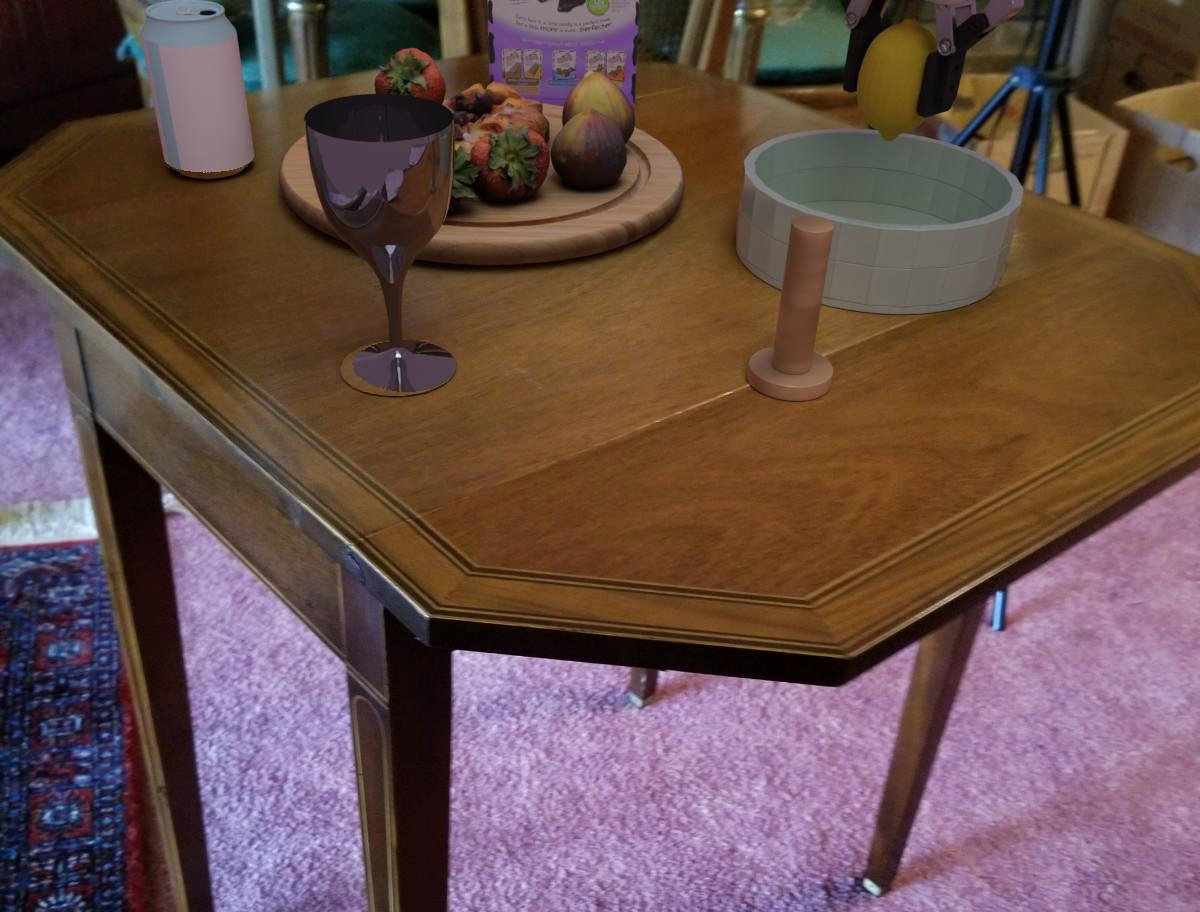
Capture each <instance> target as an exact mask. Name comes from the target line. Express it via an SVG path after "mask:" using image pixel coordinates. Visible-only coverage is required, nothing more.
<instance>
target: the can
mask: <svg viewBox="0 0 1200 912" xmlns="http://www.w3.org/2000/svg"><path fill="white" fill-rule="evenodd" d="M225 9H226V8H225V7H224V6H223V5H221V4H219V3H218V2H214V1H210V0H165V1H161V2H157V3H154V4H151V5H149V6H147V7H146V8H145V10H144V14H145V17H146V19H145V21H144V23H143V25H142V28H141V30H140V34H139V36H140V41H141V46H142V51H143V56H144V57H143V58H144V61H145V67H146V72H147V77H148V82H149V88H150V92H151V98H152V103H153V108H154V115H155V118H156V123H157V128H158V129H157V130H158V134H159V139H160V145H161V150H162V156H163V160H165V161H164V163H165V162H166V163H167V164H169V165H170V166H172V167H174V168H176V169H179V170H180V169H181V170H184V171H191V172H203V173H205V172H206V173H207V172H209V173H210V172H221V171H229V170H234V169H237V168H240V167H243V166H244V165H246V164H248V163H250V162H251V161H252V160H253V158H254V156H255V149H254V143H253V135H252V129H251V123H250V117H249V109H248V102H247V95H246V87H245V81H244V80H245V79H244V73H243V66H242V60H241V54H240V47H239V40H238V32H237V30H236V28H235V26H234V25H233V24H232V23H231V21H230V20H229V19H228V17H227V16H226V14H225ZM254 159H255V158H254ZM253 161H254V160H253Z"/></svg>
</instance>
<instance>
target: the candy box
mask: <svg viewBox="0 0 1200 912" xmlns="http://www.w3.org/2000/svg"><path fill="white" fill-rule="evenodd" d="M486 2H487V4H486V8H487V35H488V40H487V41H488V73H489V82H488V83H489V84H490V83H492V82H493V81H495V82H498V83H504V84H507V85H508V86H510V87H512V88H514V89H515V90H516V91H517V93H518V94H519V95H520V97H523V98H526V99H531V100H536V101H538V102H540V103H544V104H551V105H557V106H563V107H564V103H565V101H566V99H567V96H568V94H569V92H570V91H571V90H572V88H573V87H574V86H575V85H576V83H577V82H578V81H579V80H580V78H581V77H582V76H583V75H584V74H585V73H587V72H588V71H590V70H591V71H593V72H595V71H596V72H599V73H601V74H603V75H605V76H606V77H607V78H609V79H610V80H612V81H613V82H614V83H615V84H616V85H617V86H618V87H619V88H620V89H621V90H622V91H623V92H624V94H625V95H626V97H627V98H628V100H629V102H630V103H631V105H632V107H633V109H635V108H636V107H635V106H636V92H637V91H636V89H637V63H638V61H637V60H638V40H639V37H638V35H639V13H640V0H486ZM489 84H488V85H489Z"/></svg>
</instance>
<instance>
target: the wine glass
mask: <svg viewBox="0 0 1200 912" xmlns="http://www.w3.org/2000/svg"><path fill="white" fill-rule="evenodd" d="M303 125H304V136H306V145H307V151H308V157H309V163H310V169H311V172H312V176H313V180H314V184H315V188H316V191H317V195H318V198H319V200H320V203H321V206H322V209H323V212H324V214H325V216H326V218H327V220H328V222H329V224H330V225H331V226H332V228H333V229H334V230H335V231H336V233H337V234H338V235H339V236H340V237H341V238H342V239H343V240H344V241H345V244H347V245H348V246H349V247H350V248H351V249H352V250H353V251H355V252H356V253H357V255H359V256H360V257H361V258H362V259H363V260H364V261H365V262H366V263H367V265H369V267H370V268H371V269H372V271H373V272H374V274H375V276H376V277H377V279H378V281H379V284H380V287H381V292H382V295H383V300H384V304H385V309H386V315H387V322H388V333H389V340H390V341H389V342H383V343H378V344H375V345H371V346H370V347H368V348H366V349H365V350H363V351H362V350H361V352H360V353H359V354H357V355H356V356H355V359H354V361H353V363H352V366H353V365H354V372H355V374H356V376H357V377H359V376H360V377H361V378H362V379H363V380H364V381H366V382H367V383H369V384H371V385H373V386H375V387H378V388H380V387H381V386H382V389H384V388H385V387H386V390H388V389H389V390H390V391H391V390H392V391H397V392H416V391H423V390H428V389H432V388H434V387H437V386H439V385H441V384H442V383H444V382H446V381H447V380H448V379H449V378H450V379H451V378H452V376H453V375H454V373H455V372H456V373H457V370H456V369H457V368H458V363H457V361H456V359H455V357H454V356H453V355H452V353H451V352H449V351H448V350H447V349H445V348H443V347H442V346H439V345H436V344H434V343H432V342H428V341H424V340H417V341H415V340H416V339H407V340H403V339H404V336H403V322H402V319H403V318H402V317H403V316H402V311H403V310H402V308H403V291H404V285H405V280H406V277H407V274H408V271H409V269H410V268H411V266H412V265H413V263H414V261H415V260H416V259H415V258H416V257H417V256H418V255H419V254H420V252H421V251H422V250H423V249H424V248H425V246H426V245H427V244H428V243H429V242H430V241H431V239H432V238H433V237H434V236H435V235H436V234H437V232H438V231H439V229H440V228H441V226H442V224H443V223H444V220H445V218H446V215H447V212H448V209H449V204H450V199H451V194H452V188H453V179H454V169H455V135H454V118H453V114H452V112H451V111H450V110H449V109H448V108H447V107H445V106H444V105H442V104H440V103H437V102H435V101H432V100H428V99H425V98H420V97H415V96H408V95H400V94H376V93H363V94H362V93H361V94H353V95H347V96H340V97H336V98H332V99H328V100H325V101H322V102H319V103H318V104H316V105H314V106H312V107H311V108H309V109H308V110H307V111H306V113H305V114H304V116H303ZM344 241H343V242H344ZM423 341H424V342H423ZM427 342H428V343H427ZM430 343H431V344H430ZM352 366H351V367H352ZM456 366H457V367H456ZM456 373H455V374H456ZM454 376H455V375H454ZM454 376H453V377H454ZM450 379H449V380H450ZM452 379H453V378H452ZM452 379H451V380H452ZM451 380H450V381H451Z"/></svg>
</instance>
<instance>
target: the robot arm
mask: <svg viewBox="0 0 1200 912" xmlns="http://www.w3.org/2000/svg"><path fill="white" fill-rule="evenodd" d="M891 1H892V0H839V3H840V4H841V7H842V8H843V11H844V16H843V22H844V25H845V26H846V28H848V29H849V30H850V31H849V32H850V33H849V37H848V38H849V39H848V44H847V51H846V57H845V63H844V64H845V65H844V77H843V84H842V90H843V92H846V93H849V94H853V93H857V83H858V77H859V72H860V69H861V65H862V62H863V59H864V57H865V54H866V52H867V50H868V48H869V46H870V44H871V43H872V41H873V40H874V39H875V38H876V37H877V36H878V35H879V34H880V33H881V32H883V31H884V30H885V29H887V28H888V24H884V23H882V19H883V18H884V15H885V13H886V11H887V9H888V7H889V5H890V2H891ZM924 1H925V2H929V3H933V6H934V21H935V39H936V41H937V51H935V52H932V53H929V55H928V56H927V59H926V64H925V69H924V74H923V79H922V84H921V89H920V94H919V100H918V105H917V110H916V111H917V113H918V115H919V116H921V117H924V118H926V119H927V118H930V117H934V116H936V115H939V114H942V113H946V112H949V111H950V110H951V109H952V107H953V105H954V102H955V100H956V98H957V96H958V93H959V89H960V84H961V80H962V74H963V70H964V65H965V60H966V56H967V52H968V51H969V50H972V49H974V48H975V47H976V46H977V44H978V43H979V42H980V41H981V40H983V39H984V38H986V37H987V36H988V35H989V34H990V33H992V32H993V31H994V30H995V29H996V28H997V27H999V26H1000V25H1002V24H1003V23H1005V22H1007V21H1008V20H1009V19H1011V18H1012V17H1013V16H1015V15H1016V14H1019V12H1021V11H1022V10H1023V8H1024V6H1025V0H989V1H988V4H986V5H985V6H984V7H983V8H982V9H981V10H979V11H977V0H924Z"/></svg>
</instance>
